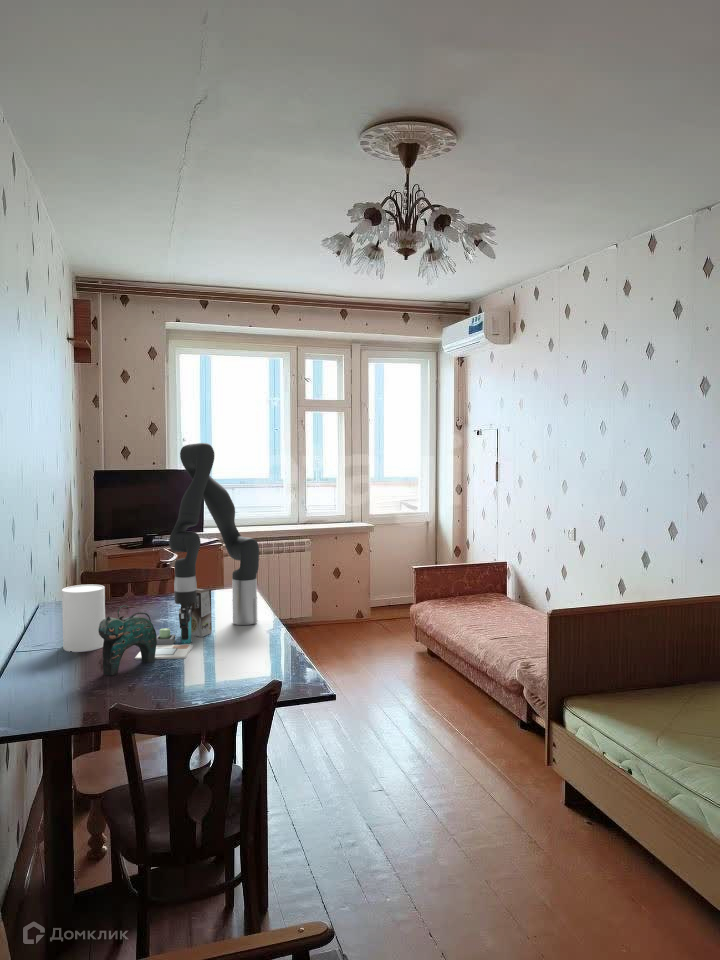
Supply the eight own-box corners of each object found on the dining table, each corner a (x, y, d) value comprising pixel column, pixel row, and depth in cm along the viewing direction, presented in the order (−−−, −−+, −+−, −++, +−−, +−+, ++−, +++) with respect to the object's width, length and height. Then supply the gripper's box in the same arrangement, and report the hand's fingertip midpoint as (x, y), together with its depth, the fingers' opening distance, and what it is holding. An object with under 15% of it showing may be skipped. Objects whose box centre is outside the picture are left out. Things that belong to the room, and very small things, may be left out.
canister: (98, 651, 236) (97, 592, 235) (57, 652, 236) (56, 592, 235) (110, 640, 250) (109, 584, 249) (71, 641, 249) (69, 584, 248)
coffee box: (212, 633, 259) (212, 589, 258) (201, 637, 253) (201, 592, 253) (192, 630, 263) (191, 587, 262) (181, 634, 257) (180, 590, 256)
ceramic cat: (108, 678, 209) (107, 611, 208) (94, 674, 212) (93, 608, 211) (160, 661, 226) (159, 599, 225) (146, 657, 229) (145, 596, 228)
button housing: (175, 641, 248) (175, 634, 248) (172, 646, 242) (172, 639, 242) (158, 641, 248) (157, 634, 248) (154, 646, 242) (154, 639, 242)
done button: (171, 636, 247) (171, 628, 247) (169, 639, 243) (169, 630, 243) (160, 636, 247) (160, 628, 247) (158, 639, 243) (158, 631, 243)
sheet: (192, 646, 242) (192, 644, 242) (185, 658, 228) (185, 656, 228) (145, 647, 241) (144, 645, 241) (134, 659, 227) (134, 657, 227)
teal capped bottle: (192, 640, 249) (192, 612, 249) (190, 643, 245) (190, 615, 245) (181, 640, 249) (181, 612, 248) (179, 643, 245) (179, 615, 245)
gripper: (193, 592, 239) (193, 643, 240) (199, 584, 254) (200, 632, 254) (170, 593, 239) (171, 643, 240) (178, 585, 253) (178, 632, 254)
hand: (186, 637), depth 247 cm, fingers closed on teal capped bottle, 3 cm apart
